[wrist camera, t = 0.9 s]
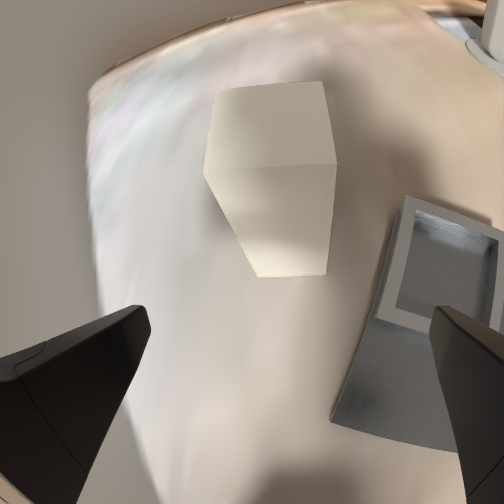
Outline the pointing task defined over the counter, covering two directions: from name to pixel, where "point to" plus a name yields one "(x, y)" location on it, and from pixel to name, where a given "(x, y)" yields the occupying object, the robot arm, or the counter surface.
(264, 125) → the cream rectangular prism
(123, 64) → the counter surface
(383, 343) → the bracket plate
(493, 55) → the wireless router
